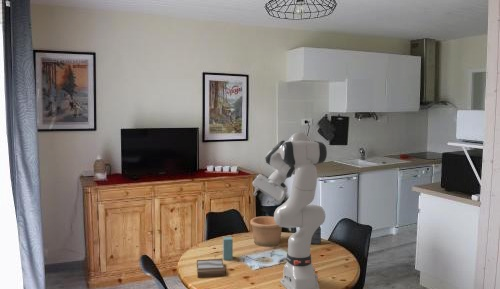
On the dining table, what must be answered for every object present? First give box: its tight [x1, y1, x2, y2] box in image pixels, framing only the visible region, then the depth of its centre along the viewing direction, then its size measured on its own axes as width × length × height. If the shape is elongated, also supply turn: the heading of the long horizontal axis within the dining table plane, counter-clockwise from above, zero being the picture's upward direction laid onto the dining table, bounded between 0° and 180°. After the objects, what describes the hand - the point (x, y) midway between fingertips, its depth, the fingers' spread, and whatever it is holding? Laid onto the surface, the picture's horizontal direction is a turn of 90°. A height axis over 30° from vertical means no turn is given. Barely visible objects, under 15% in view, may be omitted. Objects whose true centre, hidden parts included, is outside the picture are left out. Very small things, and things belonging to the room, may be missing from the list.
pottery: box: [249, 215, 283, 248], centre depth 261 cm, size 22×22×14 cm
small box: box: [311, 226, 322, 245], centre depth 261 cm, size 11×6×10 cm, turn 84°
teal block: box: [222, 236, 234, 261], centre depth 233 cm, size 5×5×12 cm
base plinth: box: [196, 258, 226, 278], centre depth 216 cm, size 16×14×3 cm
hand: (260, 199), depth 229 cm, fingers open, 8 cm apart
